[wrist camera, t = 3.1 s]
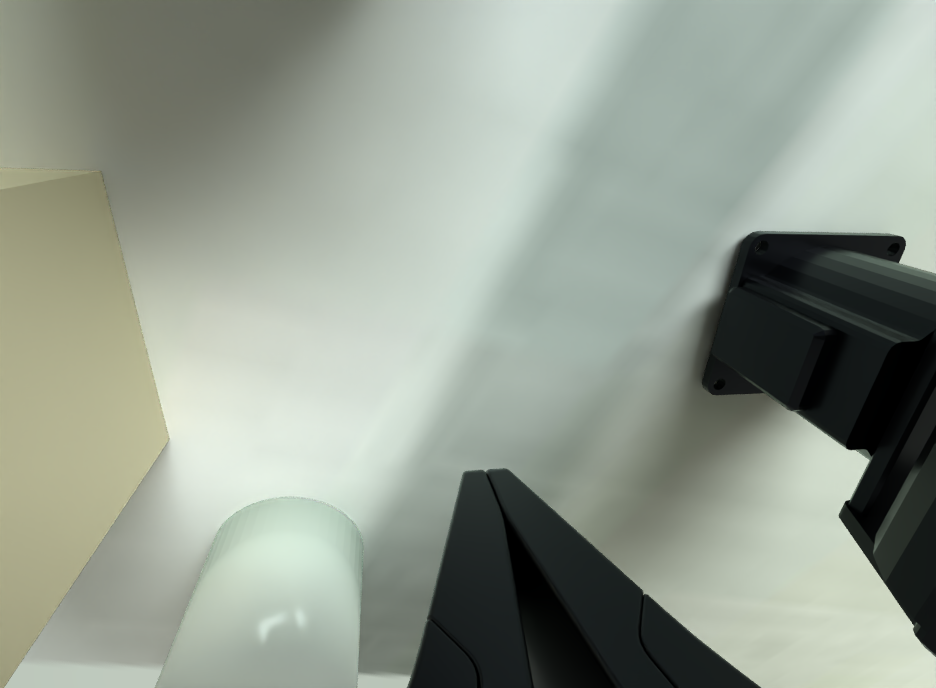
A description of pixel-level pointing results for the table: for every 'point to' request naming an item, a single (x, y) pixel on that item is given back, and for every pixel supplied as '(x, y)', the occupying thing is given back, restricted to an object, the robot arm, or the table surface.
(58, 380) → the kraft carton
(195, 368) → the table surface
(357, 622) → the white rounded cylinder
